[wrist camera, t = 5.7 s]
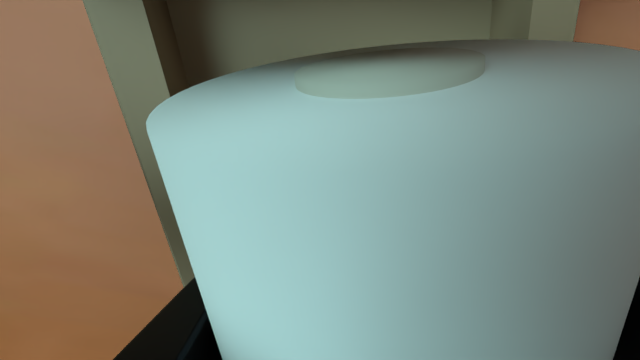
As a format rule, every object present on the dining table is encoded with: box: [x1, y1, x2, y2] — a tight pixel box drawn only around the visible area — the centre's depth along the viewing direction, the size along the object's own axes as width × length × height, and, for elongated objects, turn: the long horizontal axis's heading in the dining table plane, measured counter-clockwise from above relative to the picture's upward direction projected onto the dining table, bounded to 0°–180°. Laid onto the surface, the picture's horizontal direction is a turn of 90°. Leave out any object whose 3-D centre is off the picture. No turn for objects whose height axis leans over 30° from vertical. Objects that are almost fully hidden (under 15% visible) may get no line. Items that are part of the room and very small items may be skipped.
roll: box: [146, 39, 640, 360], centre depth 7 cm, size 8×6×6 cm
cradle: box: [83, 0, 580, 287], centre depth 9 cm, size 17×11×5 cm, turn 6°
